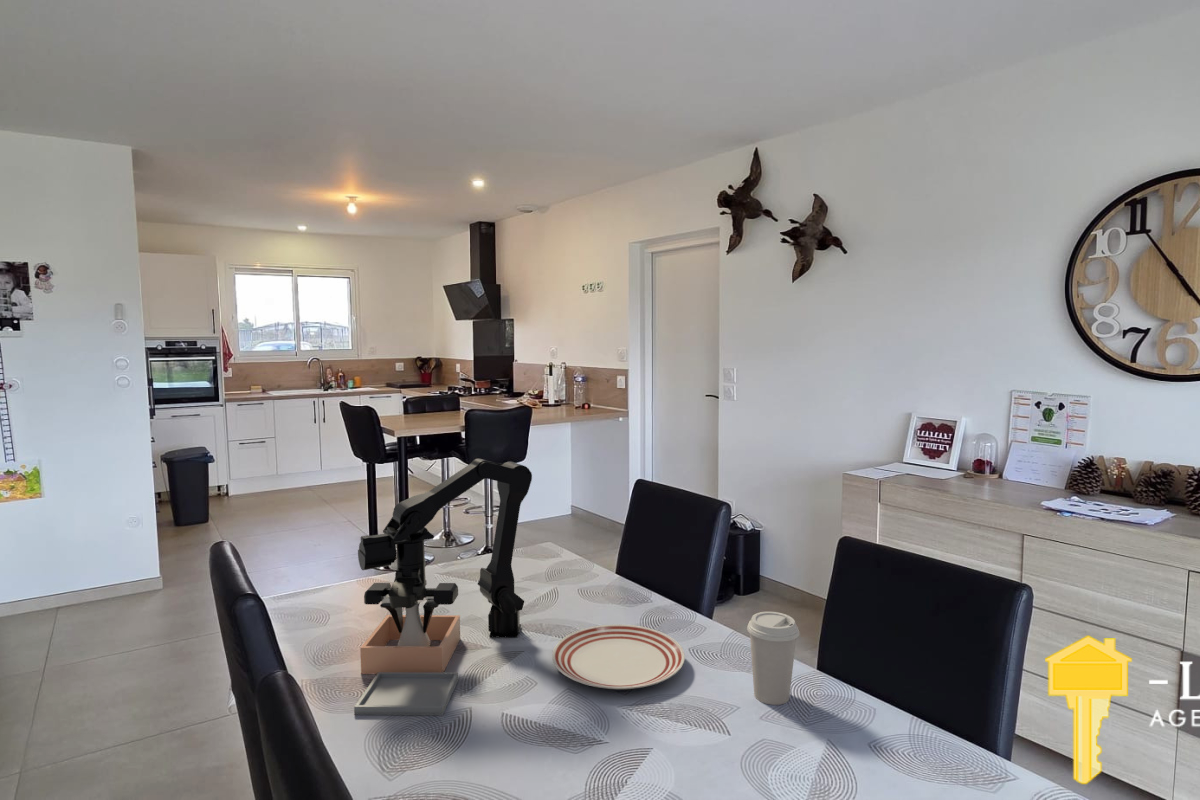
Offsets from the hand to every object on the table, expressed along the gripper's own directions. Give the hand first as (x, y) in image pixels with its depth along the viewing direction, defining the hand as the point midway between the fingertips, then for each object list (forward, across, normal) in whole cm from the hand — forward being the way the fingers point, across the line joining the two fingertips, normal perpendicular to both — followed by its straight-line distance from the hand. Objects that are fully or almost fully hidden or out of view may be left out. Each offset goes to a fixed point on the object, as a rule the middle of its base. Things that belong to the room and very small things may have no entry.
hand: (413, 632), depth 147 cm
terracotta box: (+5, 0, 0) cm, 5 cm away
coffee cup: (+6, +73, -16) cm, 75 cm away
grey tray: (+5, +4, -17) cm, 18 cm away
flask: (+4, 0, 0) cm, 4 cm away
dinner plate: (+6, +44, -4) cm, 45 cm away
